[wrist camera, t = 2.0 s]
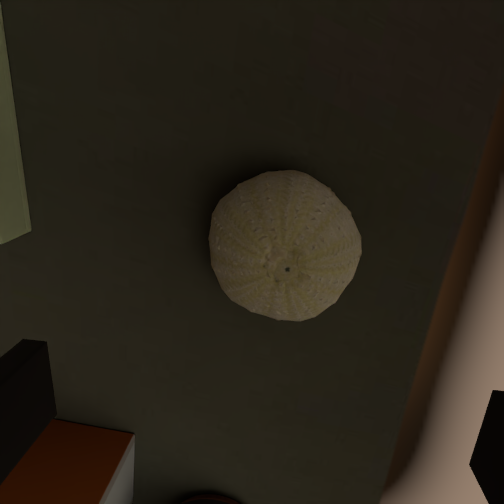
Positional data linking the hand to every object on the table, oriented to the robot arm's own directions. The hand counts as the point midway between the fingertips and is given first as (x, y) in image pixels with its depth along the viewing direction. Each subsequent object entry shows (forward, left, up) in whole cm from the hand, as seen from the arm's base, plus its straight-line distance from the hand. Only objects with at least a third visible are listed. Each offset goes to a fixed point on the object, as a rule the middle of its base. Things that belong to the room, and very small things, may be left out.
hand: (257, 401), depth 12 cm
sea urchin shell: (0, 0, -15) cm, 15 cm away
